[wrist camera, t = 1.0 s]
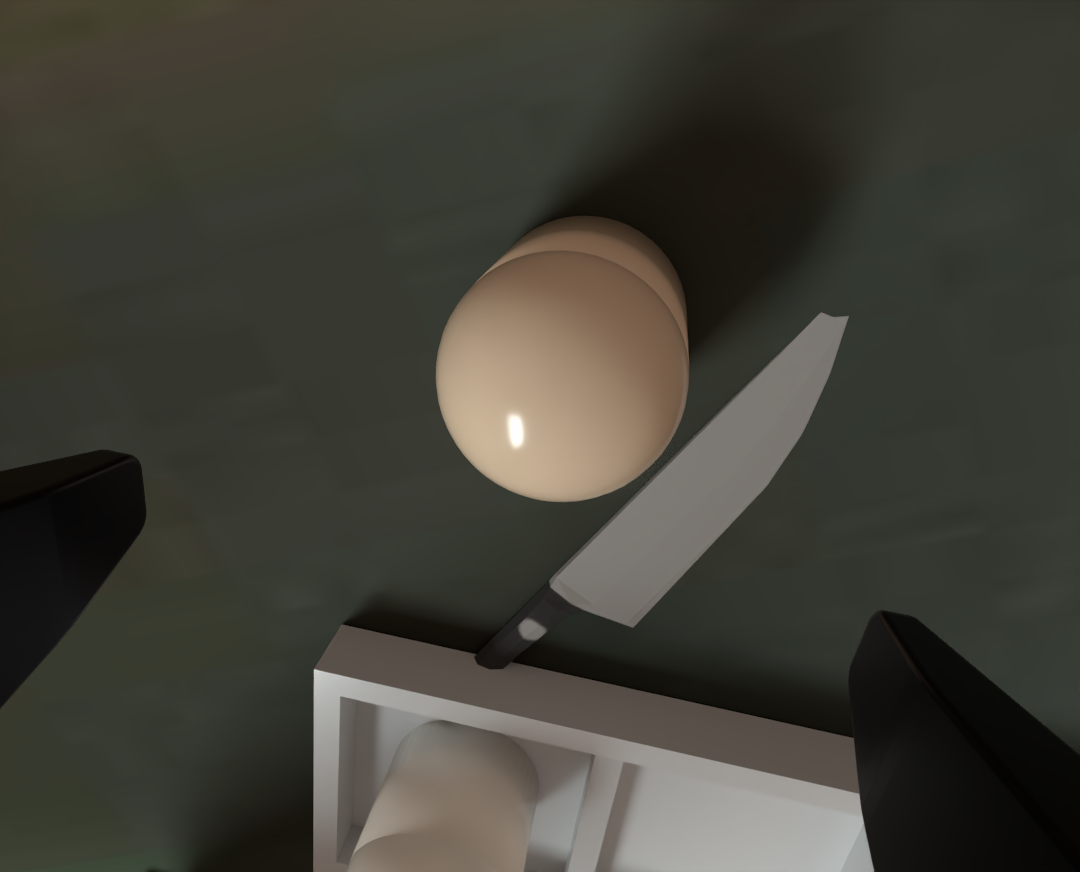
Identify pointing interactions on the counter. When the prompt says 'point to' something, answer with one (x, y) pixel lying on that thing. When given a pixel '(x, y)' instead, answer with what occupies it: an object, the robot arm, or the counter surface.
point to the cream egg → (451, 804)
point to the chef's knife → (683, 499)
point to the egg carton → (590, 765)
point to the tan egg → (567, 361)
